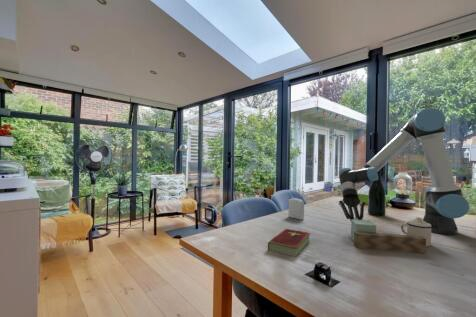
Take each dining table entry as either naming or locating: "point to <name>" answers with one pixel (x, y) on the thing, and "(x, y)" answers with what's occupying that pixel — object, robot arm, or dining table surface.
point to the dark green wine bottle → (377, 198)
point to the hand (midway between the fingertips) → (357, 231)
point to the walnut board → (390, 242)
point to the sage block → (362, 226)
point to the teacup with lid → (418, 229)
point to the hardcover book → (289, 242)
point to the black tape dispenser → (322, 275)
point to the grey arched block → (296, 208)
